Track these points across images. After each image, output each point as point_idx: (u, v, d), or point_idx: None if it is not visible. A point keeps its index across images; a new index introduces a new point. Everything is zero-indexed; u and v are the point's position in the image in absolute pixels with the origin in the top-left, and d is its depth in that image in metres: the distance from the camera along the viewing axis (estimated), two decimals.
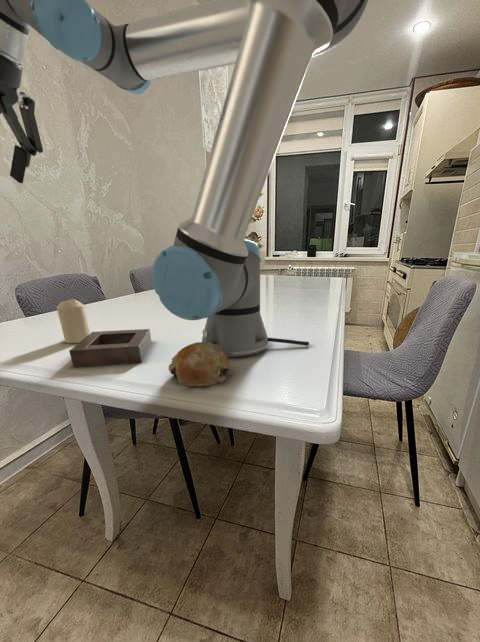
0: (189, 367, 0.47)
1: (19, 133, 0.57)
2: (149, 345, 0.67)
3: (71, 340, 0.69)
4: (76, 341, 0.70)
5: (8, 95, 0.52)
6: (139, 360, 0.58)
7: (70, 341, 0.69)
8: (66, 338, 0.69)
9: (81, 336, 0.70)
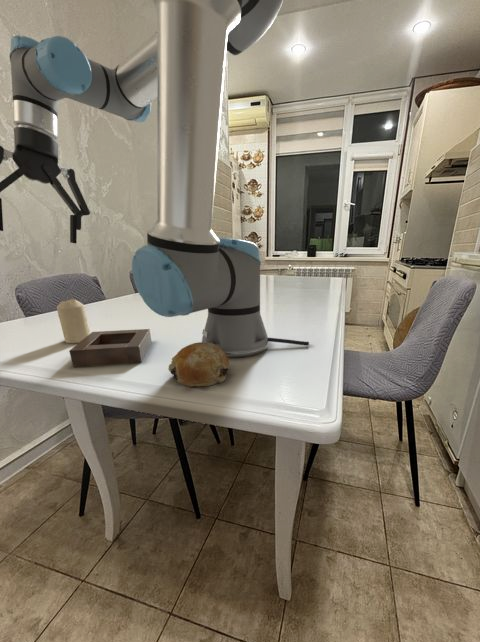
0: (189, 367, 0.47)
1: (65, 198, 0.68)
2: (149, 345, 0.67)
3: (71, 340, 0.69)
4: (76, 341, 0.70)
5: (50, 166, 0.65)
6: (139, 360, 0.58)
7: (70, 341, 0.69)
8: (66, 338, 0.69)
9: (81, 336, 0.70)
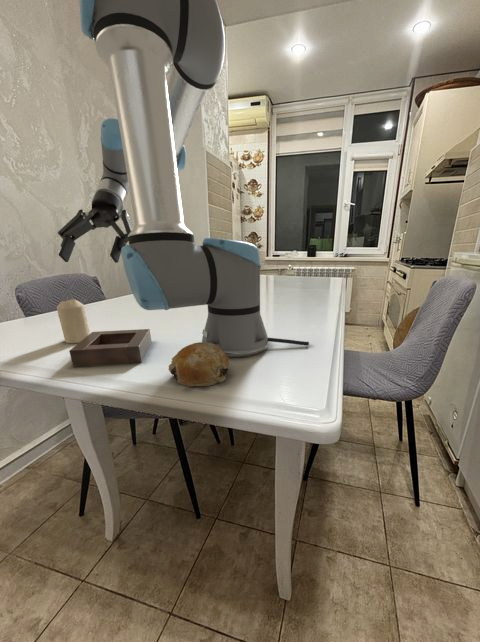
0: (189, 367, 0.47)
1: (114, 227, 0.78)
2: (149, 345, 0.67)
3: (71, 340, 0.69)
4: (76, 341, 0.70)
5: (109, 212, 0.80)
6: (139, 360, 0.58)
7: (70, 341, 0.69)
8: (66, 338, 0.69)
9: (81, 336, 0.70)
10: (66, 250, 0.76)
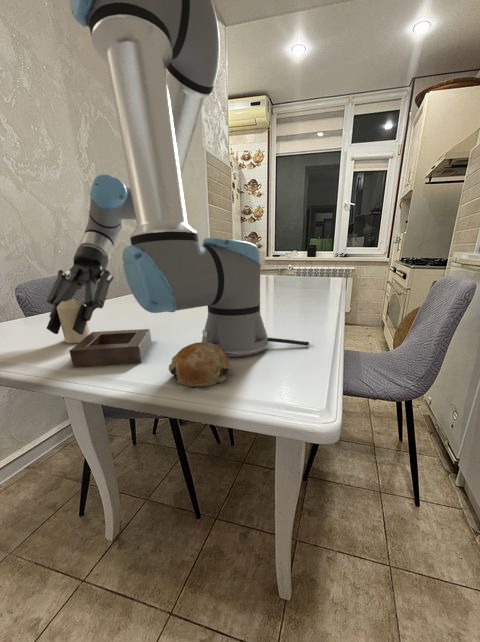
0: (189, 367, 0.47)
1: (86, 291, 0.71)
2: (149, 345, 0.67)
3: (71, 340, 0.69)
4: (76, 341, 0.70)
5: (93, 268, 0.74)
6: (139, 360, 0.58)
7: (70, 341, 0.69)
8: (66, 338, 0.69)
9: (81, 336, 0.70)
10: (55, 321, 0.68)
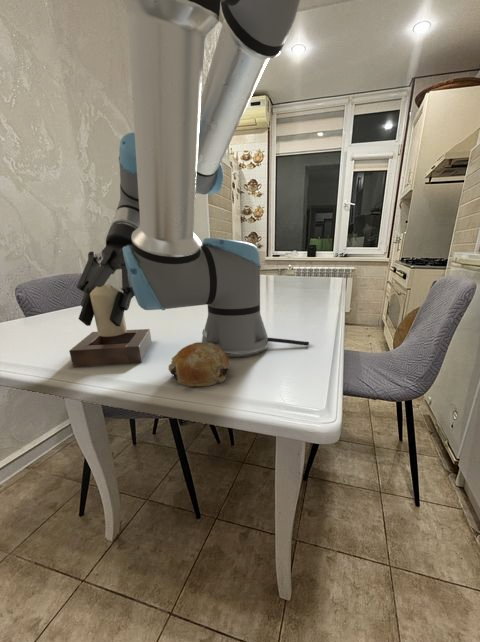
0: (189, 367, 0.47)
1: (122, 275, 0.60)
2: (149, 345, 0.67)
3: (106, 333, 0.59)
4: (112, 335, 0.59)
5: None
6: (139, 360, 0.58)
7: (104, 334, 0.59)
8: (100, 330, 0.59)
9: (118, 329, 0.60)
10: (88, 311, 0.58)
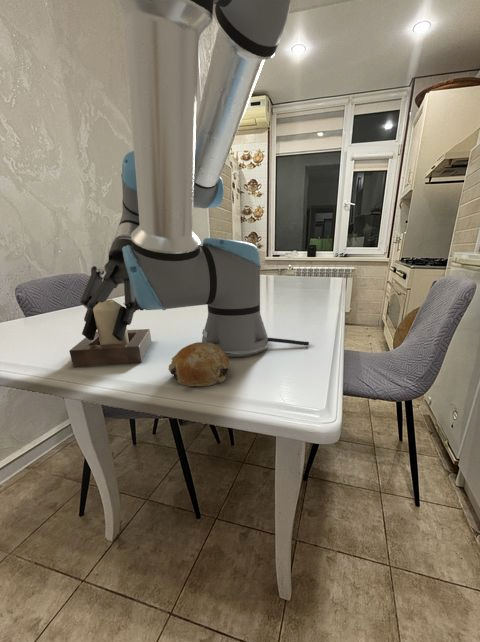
0: (189, 367, 0.47)
1: (125, 290, 0.61)
2: (149, 345, 0.67)
3: None
4: None
5: None
6: (139, 360, 0.58)
7: None
8: None
9: (120, 343, 0.61)
10: (91, 326, 0.59)
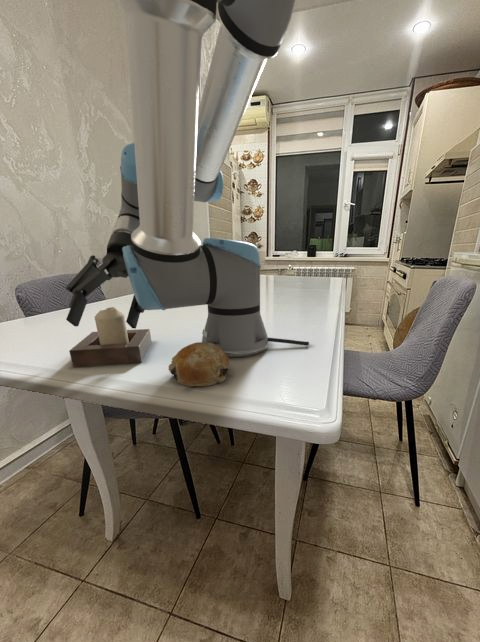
0: (189, 367, 0.47)
1: None
2: (149, 345, 0.67)
3: None
4: None
5: None
6: (139, 360, 0.58)
7: None
8: None
9: None
10: (76, 312, 0.59)
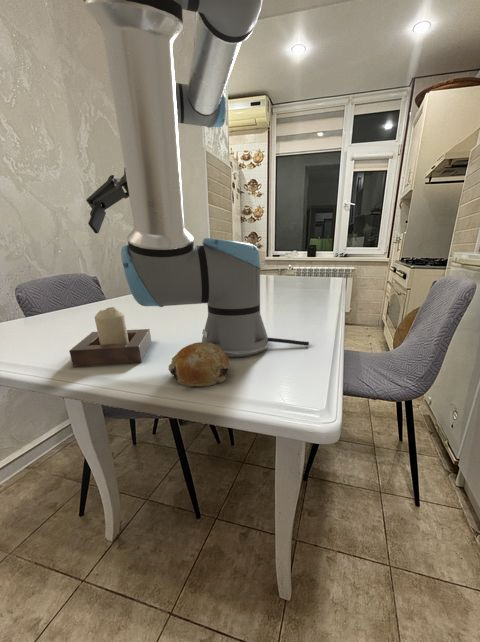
0: (189, 367, 0.47)
1: None
2: (149, 345, 0.67)
3: None
4: None
5: None
6: (139, 360, 0.58)
7: None
8: None
9: None
10: (96, 219, 0.65)
